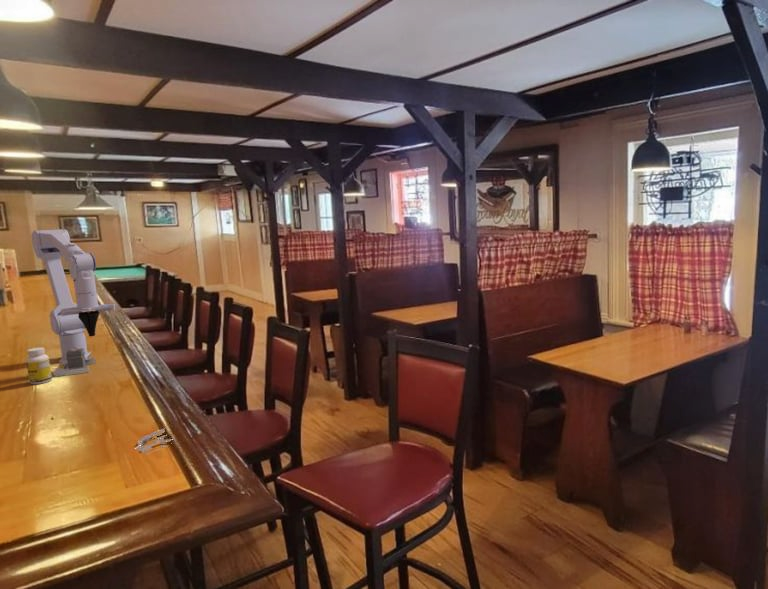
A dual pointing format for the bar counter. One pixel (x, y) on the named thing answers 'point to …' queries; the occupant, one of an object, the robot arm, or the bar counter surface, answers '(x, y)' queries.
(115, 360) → the bar counter surface
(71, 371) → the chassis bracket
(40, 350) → the supplement bottle
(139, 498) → the bar counter surface
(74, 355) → the servo block
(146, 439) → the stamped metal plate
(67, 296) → the robot arm
